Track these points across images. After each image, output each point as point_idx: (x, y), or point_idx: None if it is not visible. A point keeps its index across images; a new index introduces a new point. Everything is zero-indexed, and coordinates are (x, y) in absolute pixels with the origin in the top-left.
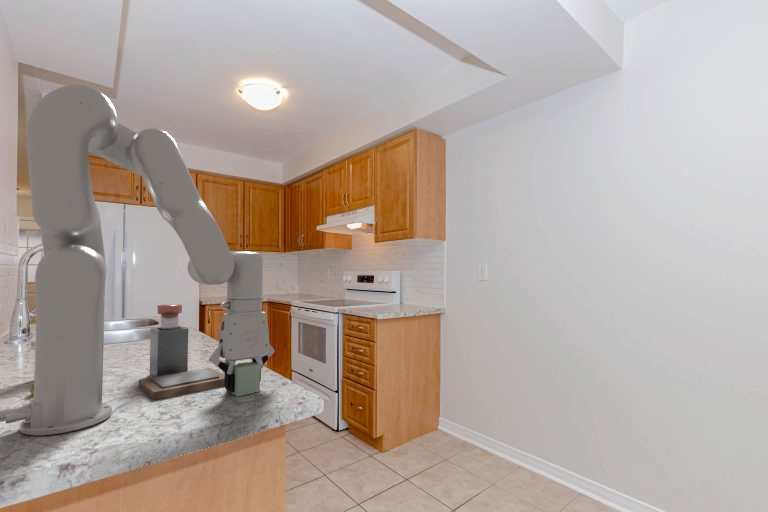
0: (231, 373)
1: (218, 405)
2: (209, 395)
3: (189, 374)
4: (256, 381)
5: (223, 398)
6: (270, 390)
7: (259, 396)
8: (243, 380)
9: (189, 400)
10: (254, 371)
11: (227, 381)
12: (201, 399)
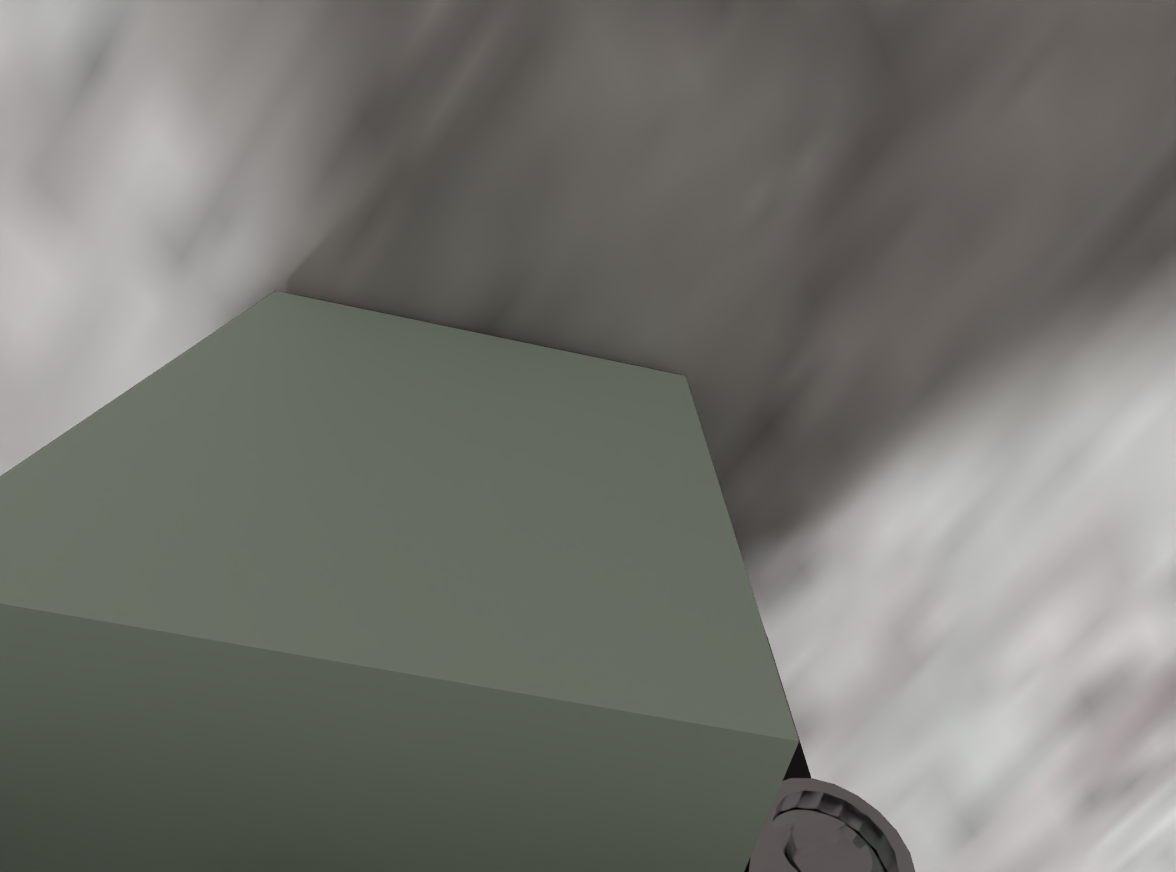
0: (782, 784)
1: (1122, 281)
2: (828, 745)
3: None
4: (268, 372)
5: (831, 502)
6: (75, 199)
7: (423, 69)
8: (587, 467)
9: (1087, 767)
10: (224, 496)
11: (786, 699)
12: (997, 693)
